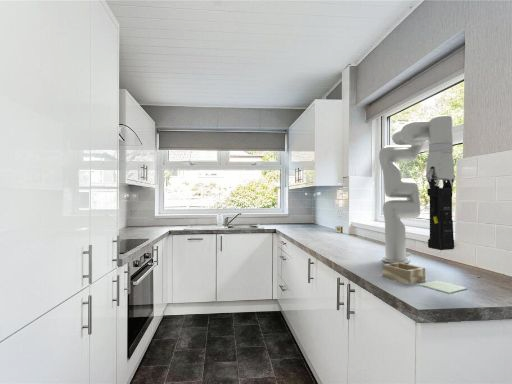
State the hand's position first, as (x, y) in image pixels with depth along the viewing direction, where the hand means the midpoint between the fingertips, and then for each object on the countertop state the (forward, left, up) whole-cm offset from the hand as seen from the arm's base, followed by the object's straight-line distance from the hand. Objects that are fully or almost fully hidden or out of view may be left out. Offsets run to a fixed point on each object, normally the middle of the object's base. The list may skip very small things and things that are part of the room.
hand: (441, 196), depth 109 cm
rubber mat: (0, 0, -33) cm, 33 cm away
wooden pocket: (+3, -14, -33) cm, 36 cm away
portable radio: (+1, 0, -20) cm, 20 cm away
